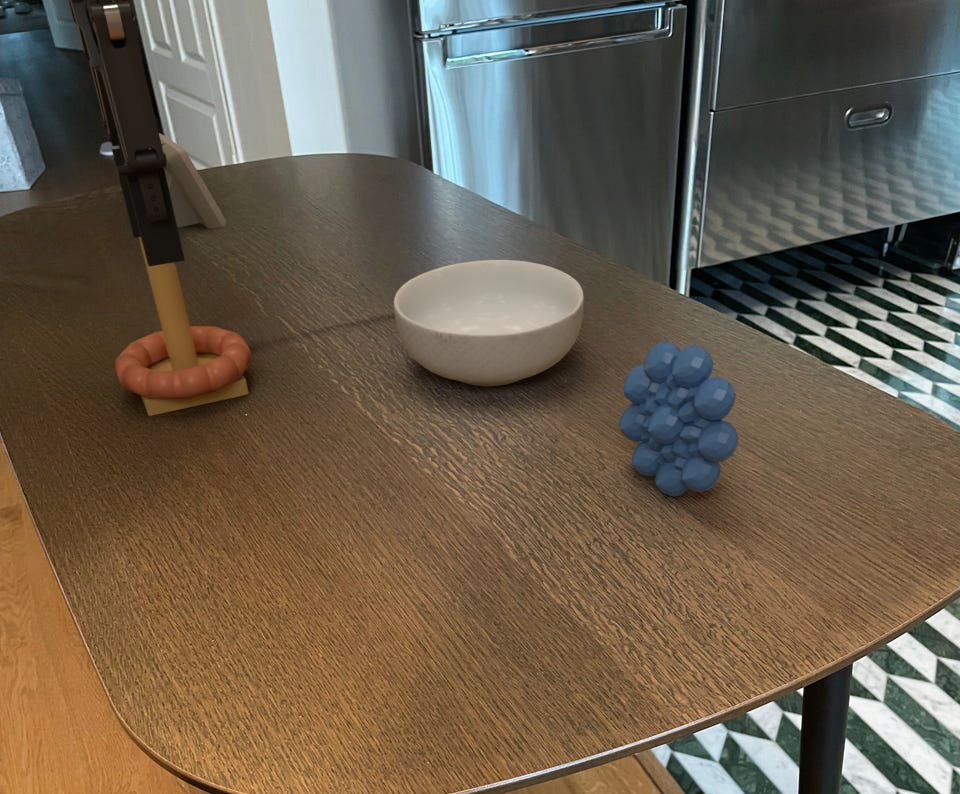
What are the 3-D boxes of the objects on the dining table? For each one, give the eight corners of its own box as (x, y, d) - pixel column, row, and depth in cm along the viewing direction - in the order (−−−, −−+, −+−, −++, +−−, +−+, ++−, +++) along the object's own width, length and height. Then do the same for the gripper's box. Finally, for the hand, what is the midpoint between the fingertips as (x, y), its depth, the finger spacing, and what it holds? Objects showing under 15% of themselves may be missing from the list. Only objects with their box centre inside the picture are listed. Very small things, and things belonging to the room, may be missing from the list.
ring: (111, 362, 94) (104, 338, 92) (235, 337, 97) (230, 313, 95) (130, 415, 85) (123, 389, 84) (266, 385, 88) (261, 359, 87)
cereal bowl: (363, 373, 93) (353, 298, 88) (488, 317, 102) (485, 246, 97) (494, 430, 84) (491, 349, 79) (619, 363, 92) (623, 287, 88)
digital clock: (230, 237, 124) (212, 144, 118) (157, 248, 122) (134, 155, 115) (211, 201, 136) (193, 115, 129) (144, 211, 134) (122, 124, 127)
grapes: (767, 511, 73) (794, 354, 65) (694, 540, 70) (713, 381, 62) (666, 445, 80) (679, 298, 73) (597, 470, 78) (603, 320, 70)
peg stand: (133, 376, 94) (88, 217, 85) (227, 357, 97) (193, 200, 88) (148, 416, 88) (101, 249, 79) (249, 394, 91) (215, 229, 81)
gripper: (155, -114, 59) (231, 278, 73) (112, -121, 73) (183, 207, 88) (21, -105, 57) (127, 296, 71) (4, -115, 71) (95, 221, 86)
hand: (158, 246), depth 79 cm, fingers open, 7 cm apart
